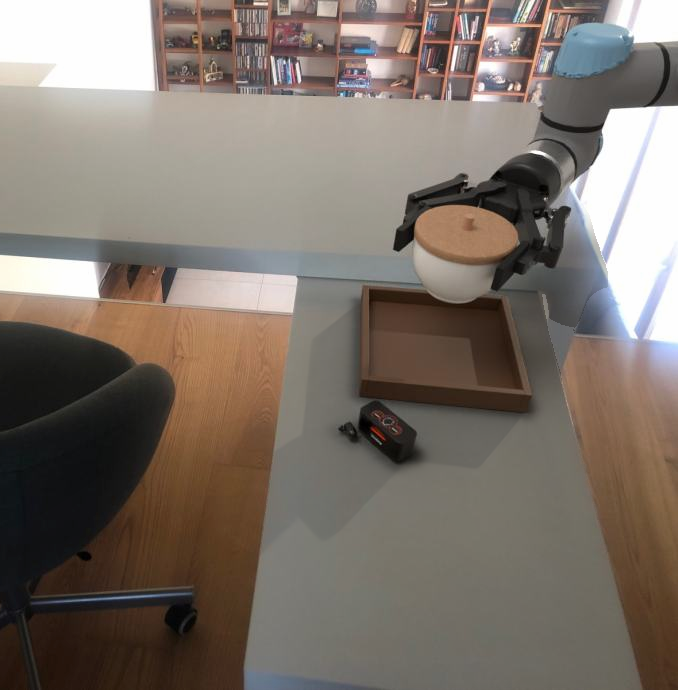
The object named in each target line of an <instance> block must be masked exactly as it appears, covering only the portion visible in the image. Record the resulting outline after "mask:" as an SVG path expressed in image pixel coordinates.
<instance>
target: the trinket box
mask: <svg viewBox="0 0 678 690" xmlns="http://www.w3.org/2000/svg"><path fill="white" fill-rule="evenodd" d="M518 244H519V239H518V233H517V231H516V229H515V227H514V226H513V225H512V224H511V223H510V222H509V221H508V220H506V219H505V218H503V217H502V216H500V215H498V214H496V213H494V212H491V211H488V210H485V209H482V208H479V206H478V207H472V206H465V205H447V206H440V207H435V208H432V209H430V210H428V211H426V212H424V213H423V214H421V215H420V216H419V217H418V219H417V221H416V223H415V228H414V240H413V241H412V248H411V250H412V251H411V256H412V257H411V258H412V267H413V270H414V272H415V273H414V274H415V275H416V277H417V279H418V281H419V282H420V283H421V284H422V286H423V287H424V288H425V290H427V291H428V292H429V294H431V295H432V296H433V297H435V298H437V299H439V300H441V301H444V302H449V303H467V302H470V301H473V300H475V299H476V298H477V297H480V296H482V295H484V294H486V295H487V293H489V292H490V291H493V290H492V289H490V288H491V285H492V281H493V278H494V274H495V271H496V268H497V266H498V265H499V264H500V263H501V262H502V261H503V260H504V259H505V258H506V257H507V256H508V255H509V254H510V253H511V252H512V251H513V250H514V249H515V248H516V247H517V246H518Z"/></svg>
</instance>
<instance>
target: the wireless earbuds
mask: <svg viewBox="0 0 678 690" xmlns="http://www.w3.org/2000/svg"><path fill="white" fill-rule="evenodd" d="M358 415H359V416H358V421H357V429H358V431H359V432H360V433H361V434H362V435H363V436H364V437H366V438H367V439H368V440H369V441H370V442H371V443H372V444H373V445H375V446H376V447H377V448H378V449H379V450H380V451H382V452H383V453H384V454H385V455H386V456H387V457H389V458H390V459H391V460H392V461H393V462H397V463H398V462H401V461H402V460H404V459H406V458H407V457H408V456H411V455H412V454H413V452H414V448H415V444H416V440H417V435H418V432H417V430H416V429H414V427H412V426H410V424H408V423H407V422H406V421H405V420H403V419H402V418H401V417H400V416H398V415H397V414H396V413H395V412H394V411H392V410H391V409H390V408H389V407H387V406H386V404H384V403H382V402H381V401H379V400H376V399H375V400H372V401H370V402H368V403H366V404H364V405H363V406H361V407H360V408H359V414H358ZM357 429H356V428H355V426H354V424H353V423H352V422H351V421H347V422H345V423H344V424H341V425H340V426H339V427H338V431H339V432H341V433H342V434H343V433H344V432H345V434H346V435H347V437H348V438H349V439H351V440H355V439H357V438H358V431H357Z"/></svg>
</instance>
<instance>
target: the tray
mask: <svg viewBox="0 0 678 690" xmlns="http://www.w3.org/2000/svg"><path fill="white" fill-rule="evenodd" d="M359 302H360V305H359V306H360V307H359V311H360V312H359V313H360V314H359V369H358V370H359V374H358V375H359V376H358V377H359V379H358V383H359V384H358V396H359V397H361V398H362V397H364V398H372V399H382V400H391V401H392V400H393V401H403V402H413V403H421V404H423V403H424V404H432V405H444V406H453V407H462V408H463V407H464V408H473V409H485V410H492V411H493V410H495V411H503V412H505V411H506V412H512V413H513V412H515V413H522V414H523V413H525V414H526V413H527V412H526V411H527V409H528V407H529V405H530V402H531V399H532V397H533V395H532V391H531V386H530V383H529V377H528V374H527V370H526V367H525V363H524V359H523V355H522V351H521V347H520V346H521V345H520V343H519V337H518V334H517V330H516V326H515V322H514V319H513V314H512V310H511V307H510V303H509V299H508V295H500V294H499V295H498V294H487V293H486V294H484V295H482V296H480V297H477V298H476V299H475V300H473V301H470V302H467V303H449V302H444V301H441V300H439V299H437V298H435V297H433V296H432V295H431V294H429V292H428V291H427V290H426V289H422V288H421V289H420V288H409V287H407V288H406V287H393V286H382V285H370V284H362V287H361V294H360V301H359Z"/></svg>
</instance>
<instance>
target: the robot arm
mask: <svg viewBox="0 0 678 690" xmlns="http://www.w3.org/2000/svg"><path fill="white" fill-rule="evenodd" d="M656 107H657V108H658V107H678V40H673V41H661V42H658V41H649V42H648V41H647V42H635V36H634V33H633V32H632V31H631V30H629V29H628V28H627V27H624V26H621V25H617V24H613V23H601V22H586V23H580V24H577V25H575V26H573V27H572V28H571V29H569V30H568V31H567V33H566V34H565V36H564V38H563V41H562V43H561V45H560V47H559V51H558V54H557V57H556V59H555V61H554V66H553V70H552V74H551V78H550V82H549V86H548V89H547V93H546V97H545V102H544V105H543V109H542V110H541V114H540V116H539V118H538V123H537V126H536V129H535V132H534V136H533V137H532V138H533V139H532V140H531V142H529V143H528V144H527V145H526V146H524V147H523V148H521V150H519V151H518V152H516V153H515V154H514V155H513V156H512V157H511V158H509V160H507V161H506V162H505V163H504V164H502V165H501V166H500V167H499V168H498V169H497V170H496V171H494V172H493V174H492V175H491V176H490V178H489V179H488V180H487V179H486V180H484V181H481V182H479V183H476V182H473V181H470V180H469V177H470V176H469V174H468V173H464V172H461V173H458V174H457V175H456V176H454V177H453V178H451V179H449V180H445V181H442V182H439V183H437V184H434V185H431V186H429V187H426V188H421V189H419V190H416V191H414V192H410V193H408V194H407V199H406V205H405V210H404V216H403V220H402V224H400V225H399V226H398V227H397V228H396V229H395V235H394V240H393V246H392V250H393V251H395V252H398V253H400V252H401V251H403V249H404V248H406V247H407V246H408V245H409V244H411V243H413V240H414V228H415V223H416V221H417V219H418V217H419V216H420V215H421V214H423V213H424V212H426V211H428V210H430V209H432V208H435V207H440V206H447V205H465V206H472V207H478V208H482V209H485V210H488V211H491V212H494V213H496V214H498V215H500V216H502V217H503V218H505V219H506V220H508V221H509V222H510V223H511V224H512V225H513V226H514V227H515V229H516V231H517V233H518V244H517V246H516V248H515V249H514V250H513V251H512V252H511V253H510V254H509V255H508V256H507V257H506V258H505V259H504V260H503V261H502V262H501V263H500V264H499V265H498V266H497V268H496V271H495V274H494V278H493V281H492V285H491V288H490V289H492V290H491V291H495V292H499V290H500V289H501V288H502V287H503V286H504V285H505V284H506V283H507V282H508V281H509V280H510V279H511V278H512V276H513V275H514V274H518V275H519V276H523V275H526V274H527V273H528V272H529V271H530V270H531V269H532V268H533V266H535V265H538V264H539V263H540V264H543V265H544V267H546V268H547V269H555V268H557V265H558V263H559V260H560V257H561V255H562V251H563V249H564V237H565V228H566V227H567V223H568V221H569V217H570V214H571V212H572V207H570V206H568V205H561V206H559V208H555V207H554V208H553V207H550V206H552V205H553V204H554V202H555V201H557V199H558V198H559V197H560V196H562V194H563V193H564V192H565V191H566V190H567V189H569V187H570V186H571V185H572V184H574V182H575V181H576V180H578V178H579V177H581V176H582V175H583V174H585V173H586V172H587V171H589V170H590V168H591V167H592V166H593V165H594V164H595V162H596V160H597V158H598V157H599V156H600V154H601V152H602V150H603V147H604V134H603V128H604V127H605V123H606V121H607V118H608V116H609V113H610V111H611V110H619V109H623V110H624V109H637V108H638V109H640V108H642V109H643V108H656ZM541 219H545V223H546V229H548V231H547V234H546V236H544V237H543V236H542V235H541V232H540V229H539V227H538V224H537V222H536V221H539V220H541ZM545 242H546V244H545ZM544 244H545V245H544Z"/></svg>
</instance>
